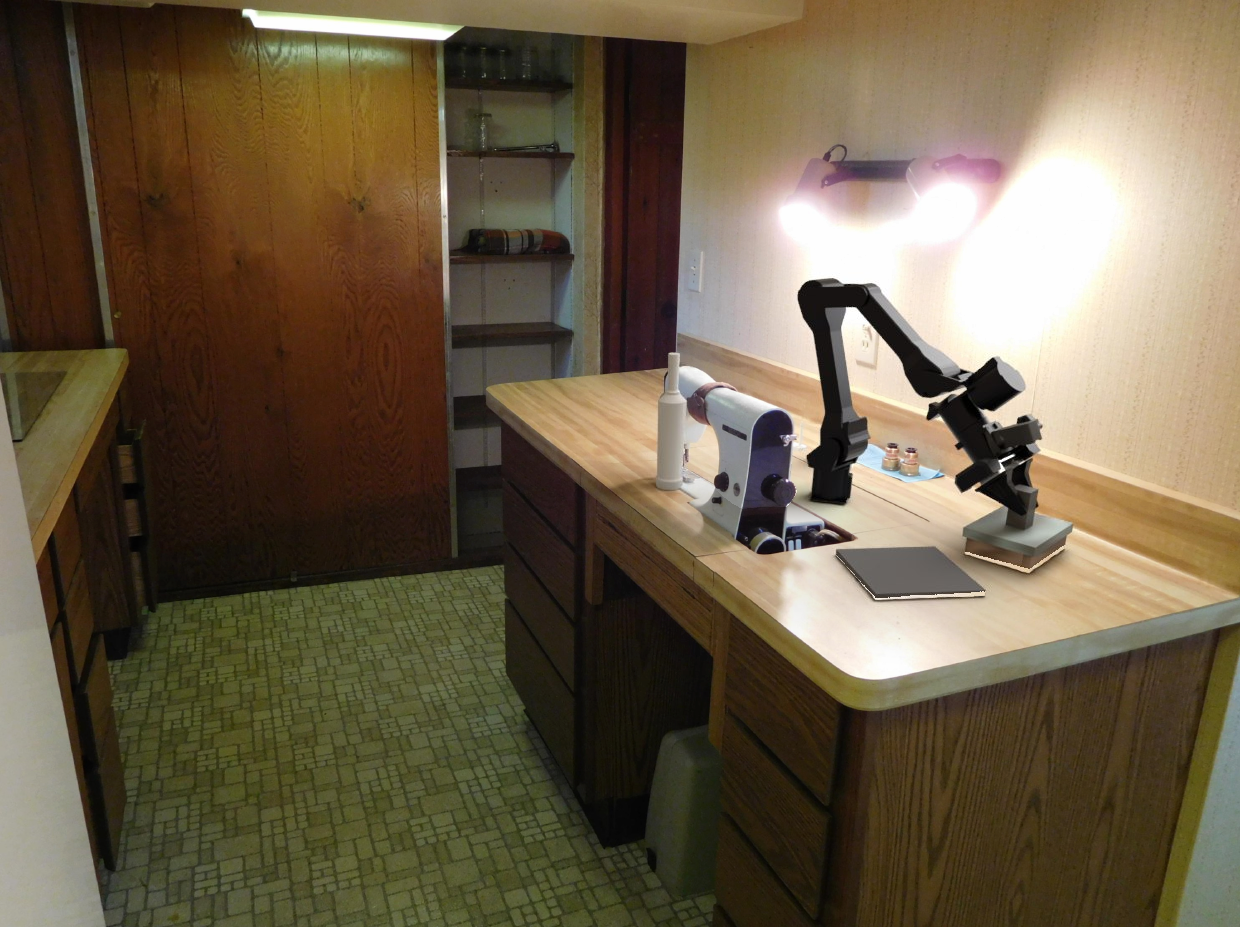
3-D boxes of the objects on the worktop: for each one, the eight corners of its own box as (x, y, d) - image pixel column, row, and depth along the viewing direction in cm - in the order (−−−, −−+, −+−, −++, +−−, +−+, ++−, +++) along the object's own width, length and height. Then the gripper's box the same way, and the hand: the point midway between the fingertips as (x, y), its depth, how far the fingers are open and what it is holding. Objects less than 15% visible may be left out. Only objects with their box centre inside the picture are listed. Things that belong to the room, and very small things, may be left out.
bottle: (650, 487, 171) (654, 354, 164) (662, 480, 176) (667, 350, 168) (675, 492, 169) (681, 357, 162) (687, 484, 173) (693, 353, 166)
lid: (962, 536, 143) (968, 490, 141) (1003, 513, 153) (1009, 470, 151) (1033, 557, 136) (1041, 509, 133) (1072, 531, 146) (1080, 486, 144)
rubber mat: (835, 555, 142) (836, 549, 142) (934, 552, 144) (935, 546, 144) (875, 600, 127) (876, 593, 127) (985, 596, 129) (986, 590, 129)
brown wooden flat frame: (964, 554, 144) (966, 536, 143) (1002, 532, 153) (1005, 515, 152) (1028, 573, 137) (1031, 555, 136) (1064, 549, 147) (1067, 531, 146)
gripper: (985, 408, 134) (1050, 499, 130) (1036, 390, 147) (1097, 472, 143) (928, 448, 142) (988, 535, 138) (982, 428, 155) (1038, 507, 151)
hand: (1030, 511), depth 142 cm, fingers open, 4 cm apart
